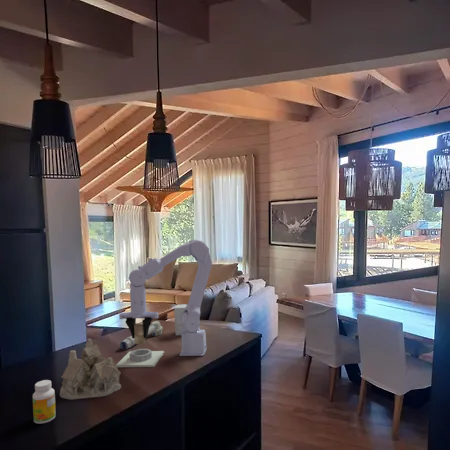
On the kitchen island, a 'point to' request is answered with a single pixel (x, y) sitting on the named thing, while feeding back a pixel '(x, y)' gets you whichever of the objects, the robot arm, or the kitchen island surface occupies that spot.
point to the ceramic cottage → (89, 375)
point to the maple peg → (139, 333)
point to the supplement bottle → (44, 402)
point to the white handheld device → (153, 329)
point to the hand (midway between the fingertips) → (140, 337)
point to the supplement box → (178, 317)
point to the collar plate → (140, 364)
